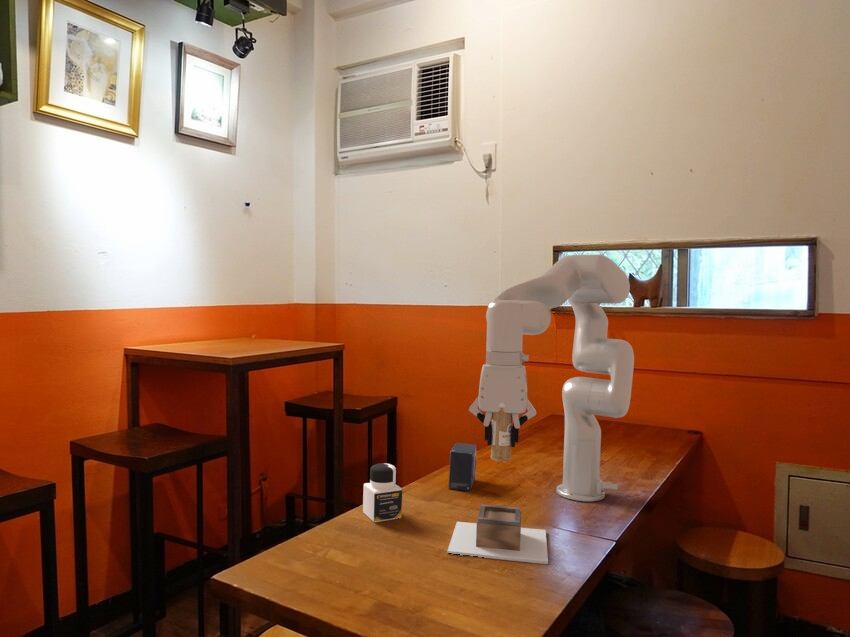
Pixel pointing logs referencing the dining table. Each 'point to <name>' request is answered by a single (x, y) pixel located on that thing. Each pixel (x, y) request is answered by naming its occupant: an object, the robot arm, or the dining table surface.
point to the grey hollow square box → (499, 527)
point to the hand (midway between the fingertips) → (501, 443)
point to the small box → (462, 466)
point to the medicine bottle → (382, 494)
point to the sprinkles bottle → (501, 435)
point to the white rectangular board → (530, 549)
